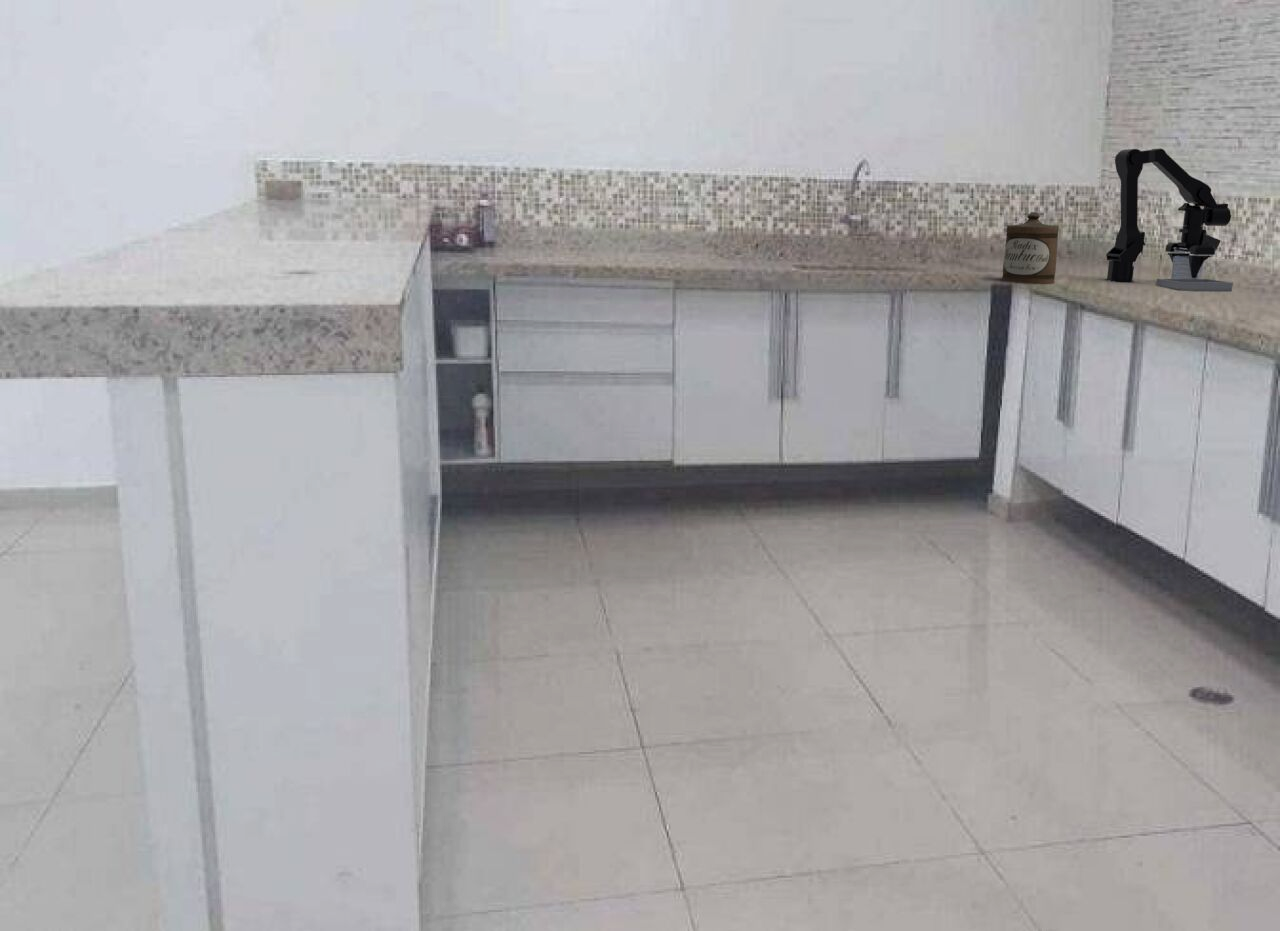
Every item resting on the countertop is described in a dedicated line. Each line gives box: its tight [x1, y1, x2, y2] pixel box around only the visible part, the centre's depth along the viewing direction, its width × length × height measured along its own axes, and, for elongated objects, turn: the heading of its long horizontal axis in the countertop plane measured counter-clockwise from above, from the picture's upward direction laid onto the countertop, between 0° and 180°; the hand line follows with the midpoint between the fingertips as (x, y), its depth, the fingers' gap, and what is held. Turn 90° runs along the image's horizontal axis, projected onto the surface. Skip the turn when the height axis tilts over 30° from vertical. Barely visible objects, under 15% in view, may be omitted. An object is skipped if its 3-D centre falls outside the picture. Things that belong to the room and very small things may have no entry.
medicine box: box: [1170, 256, 1205, 279], centre depth 338 cm, size 8×4×9 cm, turn 49°
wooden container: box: [1001, 211, 1060, 285], centre depth 320 cm, size 15×15×22 cm
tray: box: [1155, 278, 1234, 292], centre depth 322 cm, size 16×13×2 cm
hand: (1186, 276), depth 338 cm, fingers closed on medicine box, 8 cm apart
